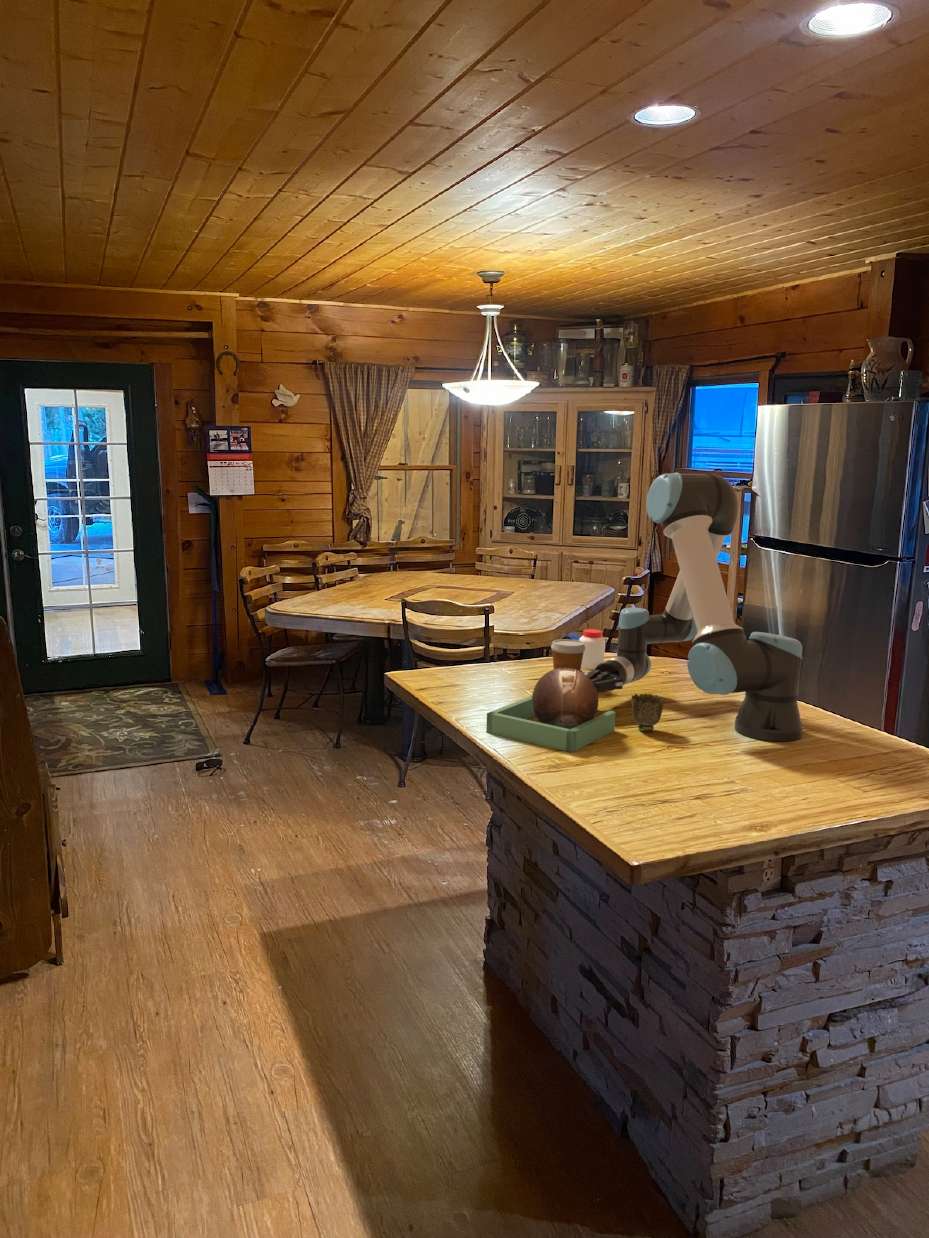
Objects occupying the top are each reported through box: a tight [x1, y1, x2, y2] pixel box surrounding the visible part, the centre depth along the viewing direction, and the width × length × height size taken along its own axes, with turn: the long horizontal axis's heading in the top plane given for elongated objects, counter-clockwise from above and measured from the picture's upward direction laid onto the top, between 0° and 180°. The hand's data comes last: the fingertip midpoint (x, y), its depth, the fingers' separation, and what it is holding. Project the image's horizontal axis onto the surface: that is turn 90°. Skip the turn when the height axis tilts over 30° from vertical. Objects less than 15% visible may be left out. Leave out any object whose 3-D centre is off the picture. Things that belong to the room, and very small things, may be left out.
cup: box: [631, 693, 665, 733], centre depth 212 cm, size 8×7×8 cm
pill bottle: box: [578, 628, 606, 671], centre depth 274 cm, size 8×8×11 cm
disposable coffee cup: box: [550, 638, 586, 671], centre depth 252 cm, size 10×10×12 cm
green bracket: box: [485, 695, 617, 753], centre depth 210 cm, size 20×22×4 cm
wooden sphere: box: [531, 668, 599, 729], centre depth 208 cm, size 15×15×15 cm
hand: (567, 692), depth 216 cm, fingers closed
